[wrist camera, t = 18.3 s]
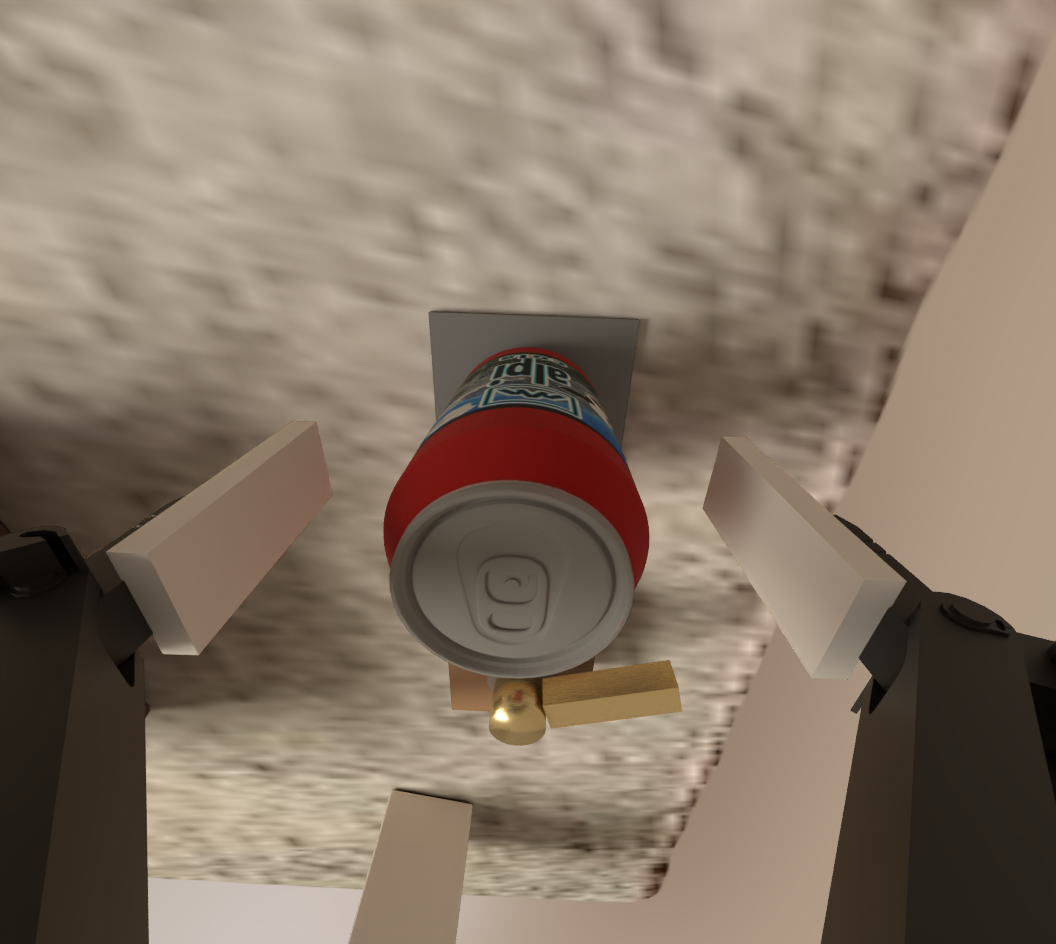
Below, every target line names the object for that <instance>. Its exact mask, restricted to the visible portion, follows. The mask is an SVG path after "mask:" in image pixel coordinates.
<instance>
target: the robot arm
mask: <svg viewBox="0 0 1056 944" xmlns="http://www.w3.org/2000/svg"><path fill="white" fill-rule="evenodd" d="M331 496H332V491H331V486H330V481H329V477H328V472H327V468H326V463H325V459H324V454H323V450H322V445H321V441H320V436H319V431H318V427H317V422H308V421H292V422H290V423H289V424H288V425H286V426H285V427H283V428H282V429H280V430H279V431H278V432H276V433H275V434H273V435H272V436H271V437H269V438H268V439H266V440H265V441H263V442H262V443H261V444H259V445H258V446H256V447H255V448H253V449H252V450H251V451H249V452H248V453H246V454H245V455H243V456H242V457H241V458H239V459H238V460H236V461H235V462H233V463H232V464H231V465H229V466H228V467H226V468H225V469H223V470H222V471H221V472H219V473H218V474H216V475H215V476H213V477H212V478H211V479H209V480H208V481H206V482H205V483H203V484H202V485H201V486H199V487H198V488H196V489H195V490H193V491H192V492H191V493H189V494H188V495H186V496H184V497H181V498H179V499H177V500H175V501H172V502H170V503H168V504H167V505H165V506H164V507H162V508H161V509H160V510H158V511H157V512H155V513H154V514H152V515H151V518H146V519H145V520H144V521H142V522H141V523H139V524H138V525H136V528H132V529H130V530H129V531H128V532H126V533H125V534H123V535H122V536H120V537H119V538H117V539H116V540H114V541H113V542H112V543H110V544H109V545H107V546H106V547H104V548H103V549H101V550H100V551H99V552H97V553H96V554H94V555H93V556H91V557H90V558H88V559H87V560H84V558H83V556H82V555H81V553H80V551H79V550H78V548H77V546H76V545H75V543H74V541H73V540H72V538H71V536H70V535H69V533H68V531H67V530H66V529H65V528H61V527H58V526H43V527H36V528H31V529H25V530H21V531H17V532H14V533H11V534H7V535H4V536H1V537H0V944H149V933H148V932H149V930H148V869H147V809H146V748H145V688H144V660H143V658H142V656H141V654H140V652H139V650H138V648H139V647H140V646H141V645H142V644H143V643H144V642H145V641H146V640H147V639H148V638H149V637H150V636H151V635H153V637H154V639H155V641H156V643H157V644H158V646H159V648H160V650H161V652H162V653H163V654H177V655H199V654H200V653H201V652H202V651H203V649H204V648H205V647H206V646H207V645H208V643H209V642H210V641H211V640H212V639H213V637H214V636H215V635H216V634H217V633H218V631H219V630H220V629H221V628H222V627H223V625H224V624H225V623H226V622H227V621H228V619H229V618H230V617H231V616H232V615H233V613H234V612H235V611H236V610H237V609H238V607H239V606H240V605H241V604H242V603H243V601H244V600H245V599H246V598H247V597H248V595H249V594H250V593H251V592H252V591H253V589H254V588H255V587H256V586H257V585H258V583H259V582H260V581H261V580H262V579H263V577H264V576H265V575H266V574H267V573H268V571H269V570H270V569H271V568H272V567H273V565H274V564H275V563H276V562H277V561H278V559H279V558H280V557H281V556H282V555H283V553H284V552H285V551H286V550H287V549H288V547H289V546H290V545H291V544H292V543H293V541H294V540H295V539H296V538H297V537H298V535H299V534H300V533H301V532H302V531H303V530H304V528H305V527H306V526H307V525H308V524H309V522H310V521H311V520H312V519H313V518H314V516H315V515H316V514H317V513H318V512H319V510H320V509H321V508H322V507H323V506H324V504H325V503H326V502H327V501H328V500H329V498H330V497H331ZM703 510H704V511H705V513H706V514H707V516H708V517H709V519H710V520H711V522H712V524H713V525H714V527H715V528H716V530H717V531H718V533H719V535H720V536H721V538H722V539H723V541H724V542H725V544H726V545H727V547H728V549H729V550H730V552H731V553H732V555H733V556H734V558H735V559H736V561H737V563H738V564H739V566H740V567H741V569H742V570H743V572H744V573H745V575H746V577H747V578H748V580H749V581H750V583H751V584H752V586H753V587H754V589H755V591H756V592H757V594H758V595H759V597H760V598H761V600H762V601H763V603H764V605H765V606H766V608H767V609H768V611H769V612H770V614H771V615H772V617H773V619H774V620H775V622H776V623H777V625H778V626H779V628H780V629H781V631H782V633H783V634H784V636H785V637H786V639H787V640H788V642H789V643H790V645H791V647H792V648H793V650H794V651H795V653H796V654H797V656H798V657H799V659H800V661H801V662H802V664H803V665H804V667H805V668H806V670H807V671H808V673H809V675H810V676H811V678H824V679H825V678H827V679H848V678H849V676H850V675H851V673H852V671H853V670H854V668H855V666H856V665H857V663H858V661H859V660H861V662H862V663H863V664H864V665H865V667H866V668H867V669H868V670H869V671H870V673H871V674H872V677H871V679H870V680H869V682H868V683H867V685H866V687H865V688H864V690H863V691H862V693H861V694H860V696H859V697H858V699H857V701H856V702H855V704H854V705H853V707H852V708H851V711H852V712H854V713H856V714H857V712H858V711H859V710H860V708H861V713H860V719H859V724H858V730H857V736H856V742H855V748H854V754H853V759H852V765H851V771H850V777H849V783H848V788H847V794H846V800H845V806H844V812H843V818H842V824H841V829H840V835H839V841H838V847H837V853H836V858H835V864H834V871H833V876H832V882H831V888H830V893H829V899H828V905H827V911H826V917H825V923H824V928H823V934H822V940H821V944H1056V641H1055V642H1054V641H1050V640H1046V639H1042V638H1037V637H1034V636H1030V635H1025V634H1021V633H1017V632H1016V631H1015V630H1014V628H1013V627H1012V626H1011V625H1010V624H1009V623H1008V622H1006V621H1005V620H1004V619H1003V618H1002V617H1001V616H999V615H997V614H996V613H994V612H993V611H991V610H989V609H988V608H986V607H985V606H982V605H980V604H978V603H976V602H974V601H971V600H969V599H967V598H964V597H960V596H957V595H953V594H950V593H942V592H933V591H931V590H930V589H929V588H928V587H927V586H925V584H923V583H922V582H921V581H920V580H919V579H918V578H916V577H915V576H914V575H913V574H912V573H911V572H909V571H908V570H907V569H906V568H905V567H904V566H903V565H901V564H900V563H899V562H898V561H897V560H896V559H894V558H893V557H892V556H891V555H889V554H886V551H885V550H884V549H883V548H882V547H880V546H879V545H878V544H877V543H873V540H872V539H871V538H870V537H869V536H868V535H867V534H865V533H864V532H863V531H862V530H861V529H860V528H858V527H857V526H855V525H853V524H852V523H850V522H848V521H846V520H845V519H843V518H841V517H839V516H837V515H832V514H831V513H830V512H829V511H828V510H826V509H825V508H824V507H823V506H822V505H821V504H820V503H819V502H817V501H816V500H815V499H814V498H813V497H812V496H811V495H810V494H809V493H807V492H806V491H805V490H804V489H803V488H802V487H801V486H800V485H798V484H797V483H796V482H795V481H794V480H793V479H792V478H791V477H790V476H788V475H787V474H786V473H785V472H784V471H783V470H782V469H781V468H780V467H778V466H777V465H776V464H775V463H774V462H773V461H772V460H771V459H769V458H768V457H767V456H766V455H765V454H764V453H763V452H762V451H761V450H759V449H758V448H757V447H756V446H755V445H754V444H753V443H752V442H750V441H749V440H748V439H747V438H746V437H722V439H721V443H720V446H719V450H718V454H717V457H716V461H715V465H714V468H713V472H712V476H711V479H710V483H709V487H708V491H707V494H706V498H705V502H704V505H703Z"/></svg>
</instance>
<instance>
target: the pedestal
mask: <svg viewBox="0 0 1056 944" xmlns="http://www.w3.org/2000/svg"><path fill="white" fill-rule="evenodd" d="M594 658H595V656H594V657H593V658H591V659H590V660H588V661H586V662H584V663H582V664H580V665H578V666H576V667H574V668H571V669H568V670H566V671H563V672H559V673H556V674H552V675H547V676H541V677H540V678H541V679H542V680H543V679H544V678H550V677H557V676H564V675H571V674H578V673H585V672H591V671H593V665H594ZM448 663H449V662H448ZM449 676H450V689H451V702H452V709H453V710H474V711H491V705H492V696H493V687H494V682H495V680H496V679H497V678H498V677H494V676H488V675H482V674H478V673H475V672H471V671H468V670H465V669H462V668H460V667H457V666H455V665H453V664H451V663H449Z"/></svg>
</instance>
